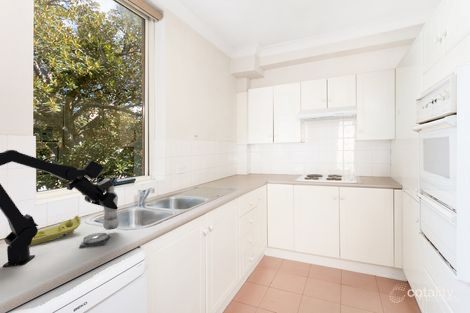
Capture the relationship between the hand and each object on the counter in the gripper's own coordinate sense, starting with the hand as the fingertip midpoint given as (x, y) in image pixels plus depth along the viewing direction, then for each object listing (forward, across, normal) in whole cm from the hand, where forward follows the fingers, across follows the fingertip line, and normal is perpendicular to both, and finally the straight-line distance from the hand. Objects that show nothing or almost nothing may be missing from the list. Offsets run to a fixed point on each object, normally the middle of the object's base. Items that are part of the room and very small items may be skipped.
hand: (113, 207), depth 112 cm
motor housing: (+1, -5, +16) cm, 16 cm away
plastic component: (-4, +18, +22) cm, 28 cm away
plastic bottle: (+6, 0, +8) cm, 10 cm away
